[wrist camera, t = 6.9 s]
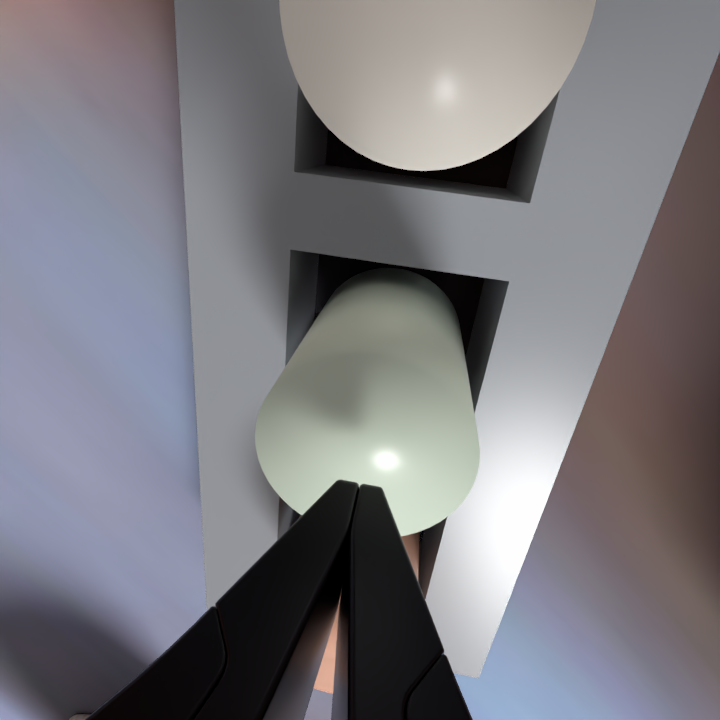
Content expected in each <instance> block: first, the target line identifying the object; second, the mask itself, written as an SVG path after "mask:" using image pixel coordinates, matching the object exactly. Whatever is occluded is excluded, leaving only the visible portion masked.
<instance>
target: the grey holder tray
mask: <svg viewBox="0 0 720 720" xmlns="http://www.w3.org/2000/svg"><path fill="white" fill-rule="evenodd" d="M174 9H175V27H176V46H177V65H178V83H179V102H180V121H181V139H182V158H183V176H184V195H185V214H186V232H187V251H188V269H189V288H190V307H191V325H192V344H193V363H194V381H195V400H196V418H197V437H198V456H199V474H200V493H201V512H202V530H203V549H204V567H205V586H206V605H207V610H208V609H209V608H210V607H212V606H215V603H216V602H217V601H218V600H219V599H220V598H221V597H222V596H223V595H224V594H225V593H226V592H227V591H228V590H229V589H230V588H231V587H232V586H233V585H234V584H235V583H236V582H237V580H238V579H239V578H240V577H241V576H242V575H243V574H244V573H245V572H246V571H247V570H248V569H249V568H250V567H251V566H252V565H253V564H254V563H255V562H256V561H257V560H258V559H259V558H260V557H261V556H262V555H263V554H264V553H265V552H266V551H267V550H268V549H269V548H270V547H271V546H272V545H273V544H274V543H275V542H276V541H277V540H278V539H279V538H280V537H281V536H282V535H283V534H284V533H285V532H286V531H287V530H288V529H289V528H290V527H291V526H292V525H293V524H294V523H295V522H296V521H297V520H298V519H299V517H300V514H299V513H298V512H296V511H295V510H294V509H292V508H291V507H290V506H289V505H288V504H287V503H286V502H285V501H284V500H283V499H282V498H281V497H280V496H279V495H278V494H277V493H276V491H275V490H274V489H273V487H272V486H271V484H270V483H269V482H268V480H267V478H266V476H265V474H264V472H263V470H262V468H261V465H260V463H259V460H258V456H257V451H256V446H255V428H256V421H257V417H258V413H259V410H260V408H261V406H262V404H263V401H264V399H265V398H266V396H267V395H268V393H269V392H270V390H271V389H272V387H273V385H274V384H275V382H276V381H277V379H278V378H279V376H280V374H281V373H282V371H283V370H284V368H285V367H286V365H287V364H288V362H289V360H290V359H291V357H292V356H293V354H294V353H295V351H296V349H297V348H298V346H299V345H300V343H301V342H302V340H303V339H304V337H305V335H306V334H307V332H308V331H309V329H310V328H311V326H312V324H313V323H314V316H315V302H316V288H317V275H318V261H319V254H325V255H332V256H339V257H345V258H352V259H359V260H366V261H373V262H380V263H386V264H393V265H400V266H407V267H414V268H421V269H427V270H434V271H441V272H448V273H455V274H462V275H469V276H475V277H482V278H485V279H484V283H483V287H482V291H481V296H480V300H479V304H478V308H477V312H476V316H475V321H474V325H473V329H472V333H471V337H470V342H469V346H468V350H467V354H466V358H465V359H466V365H467V371H468V378H469V384H470V390H471V396H472V402H473V408H474V414H475V420H476V426H477V433H478V439H479V447H480V463H479V468H478V473H477V476H476V479H475V482H474V484H473V487H472V488H471V490H470V492H469V494H468V495H467V497H466V498H465V500H464V501H463V502H462V503H461V505H460V506H459V507H458V508H457V509H456V510H455V511H454V512H453V513H451V514H450V515H449V516H448V517H446V518H445V519H443V520H442V521H441V522H439V523H437V524H435V525H433V526H431V527H430V528H427V529H425V530H424V534H423V539H422V541H419V572H418V582H419V585H420V588H421V590H422V593H423V595H424V598H425V601H426V603H427V606H428V608H429V611H430V614H431V616H432V619H433V622H434V624H435V627H436V629H437V632H438V635H439V637H440V640H441V643H442V645H443V648H444V655H446V656H447V658H448V660H449V663H450V665H451V668H452V671H453V673H455V674H460V675H465V676H470V677H474V678H479V676H480V673H481V671H482V668H483V666H484V663H485V660H486V658H487V655H488V653H489V650H490V647H491V645H492V642H493V640H494V637H495V634H496V632H497V629H498V627H499V624H500V621H501V619H502V616H503V614H504V611H505V608H506V606H507V603H508V601H509V598H510V595H511V593H512V590H513V588H514V585H515V582H516V580H517V577H518V575H519V572H520V569H521V567H522V564H523V562H524V559H525V556H526V554H527V551H528V549H529V546H530V543H531V541H532V538H533V536H534V533H535V530H536V528H537V525H538V523H539V520H540V517H541V515H542V512H543V510H544V507H545V504H546V502H547V499H548V497H549V494H550V491H551V489H552V486H553V484H554V481H555V478H556V476H557V473H558V471H559V468H560V465H561V463H562V460H563V458H564V455H565V452H566V450H567V447H568V445H569V442H570V440H571V437H572V434H573V432H574V429H575V427H576V424H577V421H578V419H579V416H580V414H581V411H582V408H583V406H584V403H585V401H586V398H587V395H588V393H589V390H590V388H591V385H592V382H593V380H594V377H595V375H596V372H597V369H598V367H599V364H600V362H601V359H602V356H603V354H604V351H605V349H606V346H607V343H608V341H609V338H610V336H611V333H612V330H613V328H614V325H615V323H616V320H617V317H618V315H619V312H620V310H621V307H622V304H623V302H624V299H625V297H626V294H627V291H628V289H629V286H630V284H631V281H632V278H633V276H634V273H635V271H636V268H637V265H638V263H639V260H640V258H641V255H642V252H643V250H644V247H645V245H646V242H647V239H648V237H649V234H650V232H651V229H652V226H653V224H654V221H655V219H656V216H657V213H658V211H659V208H660V206H661V203H662V200H663V198H664V195H665V193H666V190H667V187H668V185H669V182H670V180H671V177H672V175H673V172H674V169H675V167H676V164H677V162H678V159H679V156H680V154H681V151H682V149H683V146H684V143H685V141H686V138H687V136H688V133H689V130H690V128H691V125H692V123H693V120H694V117H695V115H696V112H697V110H698V107H699V104H700V102H701V99H702V97H703V94H704V91H705V89H706V86H707V84H708V81H709V78H710V76H711V73H712V71H713V68H714V65H715V63H716V60H717V58H718V55H719V52H720V0H596V3H595V8H594V13H593V17H592V20H591V23H590V26H589V29H588V32H587V35H586V38H585V42H584V44H583V46H582V49H581V51H580V53H579V55H578V57H577V60H576V62H575V64H574V66H573V68H572V70H571V71H570V73H569V75H568V77H567V78H566V80H565V82H564V83H563V85H562V87H561V88H560V90H559V91H558V92H557V94H556V95H555V96H554V98H553V99H552V101H551V102H550V103H549V105H548V106H547V107H546V108H545V109H544V110H543V112H542V113H541V114H540V115H539V116H538V117H537V118H536V119H535V120H534V121H533V122H532V124H530V125H529V126H528V127H527V128H526V129H525V130H523V131H522V132H521V133H520V134H519V136H518V140H517V145H516V149H515V153H514V157H513V161H512V166H511V170H510V174H509V178H508V182H507V187H506V189H505V188H498V187H490V186H483V185H475V184H467V183H460V182H452V181H445V180H437V179H429V178H422V177H414V176H407V175H399V174H391V173H384V172H376V171H369V170H361V169H353V168H346V167H338V166H331V165H326V152H327V138H328V128H327V127H326V125H325V124H324V123H323V122H322V121H321V119H320V118H319V117H318V116H317V115H316V113H315V112H314V110H313V109H312V107H311V106H310V104H309V102H308V101H307V99H306V98H305V96H304V94H303V92H302V90H301V88H300V86H299V84H298V82H297V80H296V78H295V75H294V72H293V69H292V67H291V64H290V61H289V58H288V55H287V50H286V46H285V42H284V38H283V33H282V25H281V17H280V7H279V0H174Z"/></svg>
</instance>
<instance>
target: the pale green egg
mask: <svg viewBox="0 0 720 720" xmlns="http://www.w3.org/2000/svg"><path fill="white" fill-rule="evenodd" d="M255 446H256V451H257V456H258V460H259V463H260V465H261V468H262V470H263V472H264V474H265V476H266V478H267V480H268V482H269V483H270V484H271V486H272V487H273V489H274V490H275V491H276V493H277V494H278V495H279V496H280V497H281V498H282V499H283V500H284V501H285V502H286V503H287V504H288V505H289V506H290V507H291V508H292V509H294V510H295V511H296V512H298V513H299V514H301V515H303V514H304V513H305V512H306V511H307V510H308V509H309V508H310V507H311V506H312V505H313V504H314V503H315V502H316V501H317V500H318V499H319V498H320V497H321V496H322V495H323V494H324V493H325V492H326V491H327V490H328V489H329V488H330V487H331V486H332V485H333V484H334V483H335V482H336V481H337V480H340V479H341V480H347V481H352V482H357V483H358V484H359V487H360V485H361V484H369V485H374V486H379V487H381V488H382V489H383V491H384V493H385V496H386V499H387V501H388V504H389V506H390V509H391V512H392V514H393V517H394V519H395V522H396V525H397V527H398V530H399V533H400V535H401V536H406V535H409V534H413V533H417V532H420V531H422V530H425V529H427V528H430V527H431V526H433V525H435V524H437V523H439V522H441V521H442V520H443V519H445V518H446V517H448V516H449V515H450V514H451V513H453V512H454V511H455V510H456V509H457V508H458V507H459V506H460V505H461V503H462V502H463V501H464V500H465V498H466V497H467V495H468V494H469V492H470V490H471V488H472V487H473V484H474V482H475V479H476V476H477V473H478V468H479V463H480V447H479V439H478V433H477V426H476V420H475V414H474V408H473V402H472V396H471V390H470V384H469V378H468V371H467V365H466V359H465V353H464V347H463V341H462V335H461V329H460V323H459V319H458V316H457V313H456V311H455V308H454V306H453V304H452V303H451V301H450V300H449V298H448V297H447V296H446V294H445V293H444V292H443V291H442V290H441V289H440V288H439V287H438V286H437V285H436V284H434V283H433V282H431V281H430V280H429V279H427V278H425V277H423V276H421V275H419V274H417V273H414V272H411V271H408V270H403V269H398V268H378V269H372V270H368V271H365V272H362V273H359V274H357V275H355V276H353V277H351V278H350V279H348V280H347V281H345V282H344V283H343V284H342V285H340V286H339V287H338V288H337V289H336V290H335V291H334V293H333V294H332V295H331V296H330V298H329V300H328V301H327V303H326V304H325V306H324V307H323V309H322V310H321V312H320V314H319V315H318V317H317V318H316V320H315V321H314V323H313V324H312V326H311V328H310V329H309V331H308V332H307V334H306V335H305V337H304V339H303V340H302V342H301V343H300V345H299V346H298V348H297V349H296V351H295V353H294V354H293V356H292V357H291V359H290V360H289V362H288V364H287V365H286V367H285V368H284V370H283V371H282V373H281V374H280V376H279V378H278V379H277V381H276V382H275V384H274V385H273V387H272V389H271V390H270V392H269V393H268V395H267V396H266V398H265V399H264V401H263V404H262V406H261V408H260V410H259V413H258V417H257V421H256V428H255Z"/></svg>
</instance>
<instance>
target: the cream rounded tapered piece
mask: <svg viewBox="0 0 720 720" xmlns="http://www.w3.org/2000/svg"><path fill="white" fill-rule="evenodd" d="M595 3H596V0H279V7H280V17H281V25H282V33H283V38H284V42H285V46H286V50H287V55H288V58H289V61H290V64H291V67H292V69H293V72H294V75H295V78H296V80H297V82H298V84H299V86H300V88H301V90H302V92H303V94H304V96H305V98H306V99H307V101H308V102H309V104H310V106H311V107H312V109H313V110H314V112H315V113H316V115H317V116H318V117H319V118H320V119H321V121H322V122H323V123H324V124H325V125H326V127H327V128H328V129H329V130H330V131H331V132H332V133H333V134H334V135H336V136H337V137H338V138H339V139H340V140H341V141H342V142H343V143H345V144H346V145H348V146H349V147H350V148H352V149H353V150H355V151H356V152H358V153H360V154H361V155H363V156H365V157H367V158H369V159H371V160H373V161H376V162H379V163H381V164H384V165H387V166H390V167H395V168H400V169H405V170H416V171H432V170H444V169H448V168H453V167H457V166H462V165H464V164H467V163H470V162H473V161H475V160H478V159H481V158H482V157H484V156H486V155H488V154H490V153H492V152H494V151H496V150H498V149H499V148H501V147H502V146H504V145H505V144H507V143H508V142H510V141H511V140H513V139H514V138H515V137H517V136H518V135H519V134H520V133H521V132H522V131H523V130H525V129H526V128H527V127H528V126H529V125H530V124H532V122H533V121H534V120H535V119H536V118H537V117H538V116H539V115H540V114H541V113H542V112H543V110H544V109H545V108H546V107H547V106H548V105H549V103H550V102H551V101H552V99H553V98H554V96H555V95H556V94H557V92H558V91H559V90H560V88H561V87H562V85H563V83H564V82H565V80H566V78H567V77H568V75H569V73H570V71H571V70H572V68H573V66H574V64H575V62H576V60H577V57H578V55H579V53H580V51H581V49H582V46H583V44H584V42H585V38H586V35H587V32H588V29H589V26H590V23H591V20H592V17H593V13H594V8H595Z"/></svg>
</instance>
